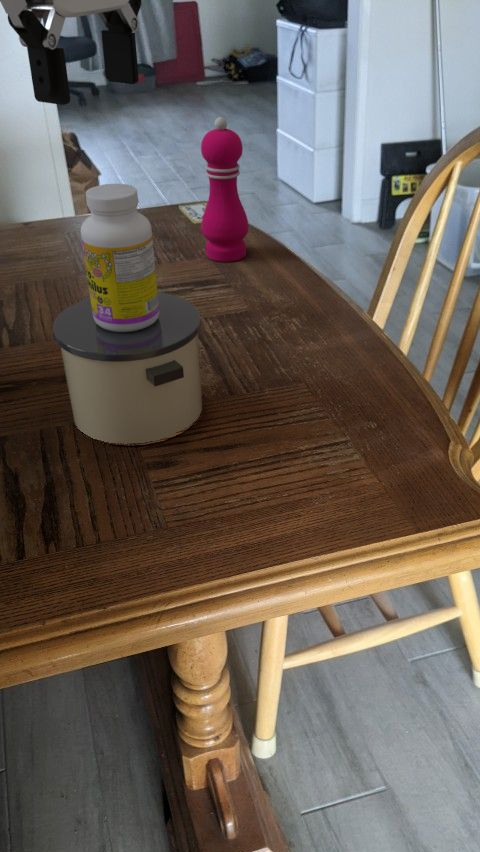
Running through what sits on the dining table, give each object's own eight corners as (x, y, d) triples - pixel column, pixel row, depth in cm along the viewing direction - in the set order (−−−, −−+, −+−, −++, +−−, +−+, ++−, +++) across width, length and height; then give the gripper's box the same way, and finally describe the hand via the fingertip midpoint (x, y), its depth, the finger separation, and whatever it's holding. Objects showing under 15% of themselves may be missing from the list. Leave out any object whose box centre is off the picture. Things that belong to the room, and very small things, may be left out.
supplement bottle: (86, 313, 80) (66, 185, 73) (147, 301, 83) (134, 176, 75) (104, 340, 76) (85, 206, 68) (169, 326, 78) (157, 195, 70)
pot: (109, 471, 77) (93, 374, 70) (45, 397, 88) (27, 308, 81) (236, 424, 83) (233, 332, 77) (162, 361, 94) (154, 276, 88)
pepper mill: (194, 259, 121) (185, 120, 109) (216, 243, 126) (210, 109, 114) (235, 266, 118) (231, 125, 106) (256, 250, 124) (254, 114, 112)
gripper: (90, -161, 64) (112, 71, 74) (-69, -175, 52) (-16, 106, 62) (167, -161, 61) (180, 79, 72) (20, -176, 49) (60, 117, 59)
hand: (89, 91), depth 67 cm, fingers open, 9 cm apart
